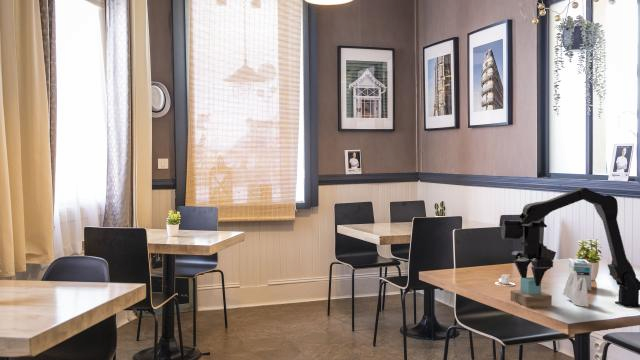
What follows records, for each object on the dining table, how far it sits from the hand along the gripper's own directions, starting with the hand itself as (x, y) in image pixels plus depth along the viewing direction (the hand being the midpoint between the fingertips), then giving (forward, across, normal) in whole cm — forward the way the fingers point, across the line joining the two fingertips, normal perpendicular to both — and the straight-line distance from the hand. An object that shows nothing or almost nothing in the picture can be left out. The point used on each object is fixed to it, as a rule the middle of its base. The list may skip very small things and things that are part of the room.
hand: (530, 283), depth 219 cm
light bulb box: (+7, +21, -33) cm, 40 cm away
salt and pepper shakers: (+7, -2, -16) cm, 18 cm away
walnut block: (+8, 0, 0) cm, 8 cm away
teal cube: (+4, 0, 0) cm, 4 cm away
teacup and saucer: (+8, +32, -10) cm, 34 cm away
